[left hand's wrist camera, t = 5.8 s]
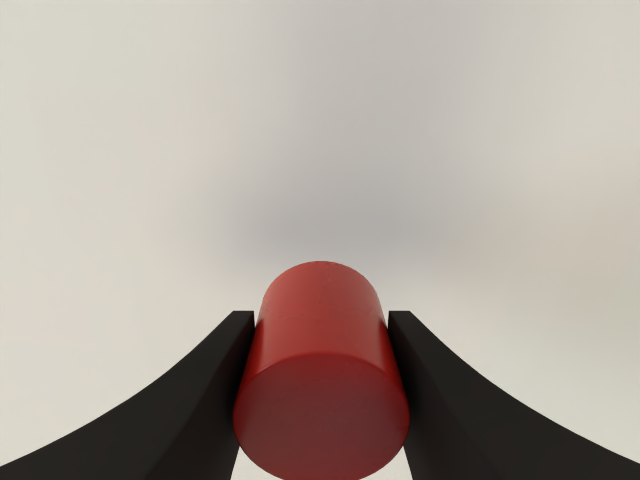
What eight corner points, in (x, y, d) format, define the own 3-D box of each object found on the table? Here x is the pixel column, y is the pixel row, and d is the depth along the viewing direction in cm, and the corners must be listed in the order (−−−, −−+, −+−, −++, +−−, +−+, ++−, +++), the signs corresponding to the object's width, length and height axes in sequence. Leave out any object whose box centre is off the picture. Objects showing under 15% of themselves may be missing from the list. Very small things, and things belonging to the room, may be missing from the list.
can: (237, 318, 13) (195, 430, 8) (316, 235, 12) (313, 317, 7) (325, 381, 14) (327, 510, 9) (405, 310, 12) (449, 420, 8)
